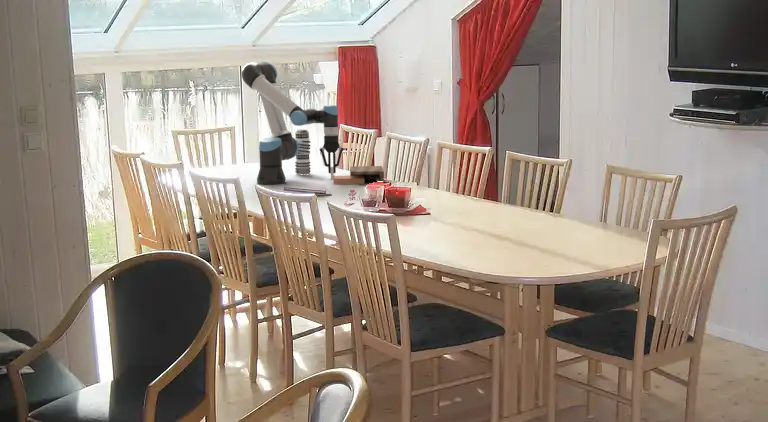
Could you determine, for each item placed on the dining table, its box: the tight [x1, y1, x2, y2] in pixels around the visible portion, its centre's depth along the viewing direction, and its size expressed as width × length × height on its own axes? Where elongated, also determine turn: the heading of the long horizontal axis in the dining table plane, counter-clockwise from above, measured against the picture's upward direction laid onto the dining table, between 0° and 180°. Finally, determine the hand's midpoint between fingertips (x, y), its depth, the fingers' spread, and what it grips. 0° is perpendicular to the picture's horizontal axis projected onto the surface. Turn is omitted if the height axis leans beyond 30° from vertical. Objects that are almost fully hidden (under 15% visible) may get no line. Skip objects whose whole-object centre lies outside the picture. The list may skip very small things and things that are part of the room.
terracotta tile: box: [333, 175, 365, 185], centre depth 505 cm, size 16×11×3 cm
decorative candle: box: [294, 129, 312, 176], centre depth 533 cm, size 9×9×25 cm
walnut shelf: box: [349, 165, 385, 182], centre depth 505 cm, size 17×20×7 cm
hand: (332, 179), depth 504 cm, fingers closed
